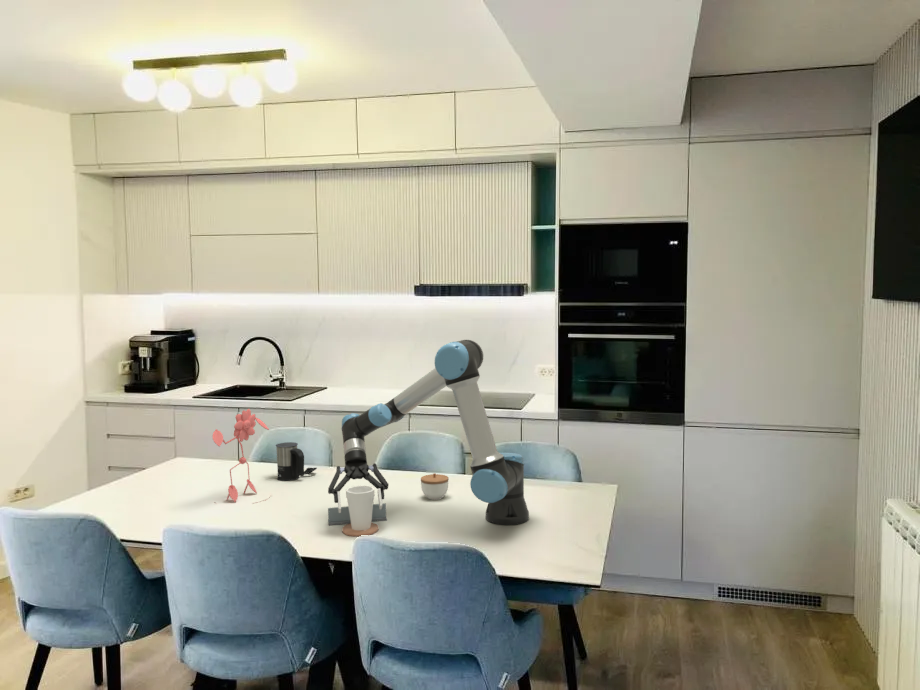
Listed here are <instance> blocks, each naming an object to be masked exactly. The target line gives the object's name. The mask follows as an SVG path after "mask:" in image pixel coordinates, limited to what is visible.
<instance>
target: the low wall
mask: <svg viewBox="0 0 920 690" xmlns="http://www.w3.org/2000/svg"><path fill="white" fill-rule="evenodd" d="M327 516H328V517H327V523H328V526H339V525H347V524H350V523H351V520H350V513H349V507H348V505H347V506H341V513H339V511H338V506H336V507H335V506H334V507H327ZM384 521H388V518H387V503H385V502H384V503H383V502H382V509H379V503H375V504H374V503H373V510H372V520H371V522H372V523H375V522H384Z"/></svg>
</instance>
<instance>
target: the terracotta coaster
mask: <svg viewBox="0 0 920 690" xmlns="http://www.w3.org/2000/svg"><path fill="white" fill-rule="evenodd" d="M378 532H379V525H378V524H377V523H375V522H371V527H370V528H369V529H367V530H353V529H352V526H351V523H350V524H344V526H342V534H344V535H345V536H349V537H362V536H361V535H368V536H371V535H374V534H376V533H378Z"/></svg>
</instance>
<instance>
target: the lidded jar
mask: <svg viewBox="0 0 920 690" xmlns="http://www.w3.org/2000/svg"><path fill="white" fill-rule="evenodd" d="M420 485H421V486H420V487H421V491H422V494H423V495H424V496H425V497H426V499H427V500H431V501H432V500H433V501H436V500H441V499H443V498H444V496H445V495H446V494H447V492H448V490H449V477H448V475H445V474H440V473H439V474H438V473H435V472H434V473H432V474H427V475H422V476H421V477H420Z"/></svg>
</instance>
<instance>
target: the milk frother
mask: <svg viewBox="0 0 920 690" xmlns="http://www.w3.org/2000/svg"><path fill="white" fill-rule="evenodd" d="M298 445H299V444H298V442H293V441H291V442H290V441H287V442H279V443H277V444H275V446H276V447H275V448H276V463H277V478H276V479H277V480H278V481H294V480H298V479H299V478H300V476H303V475H306V474H308V475H310V474H311V473H313V472H314V471H316V470H317V469H318V468H317V467H307V468H306V469H305V455H304V452H303V449H300V448H298Z"/></svg>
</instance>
